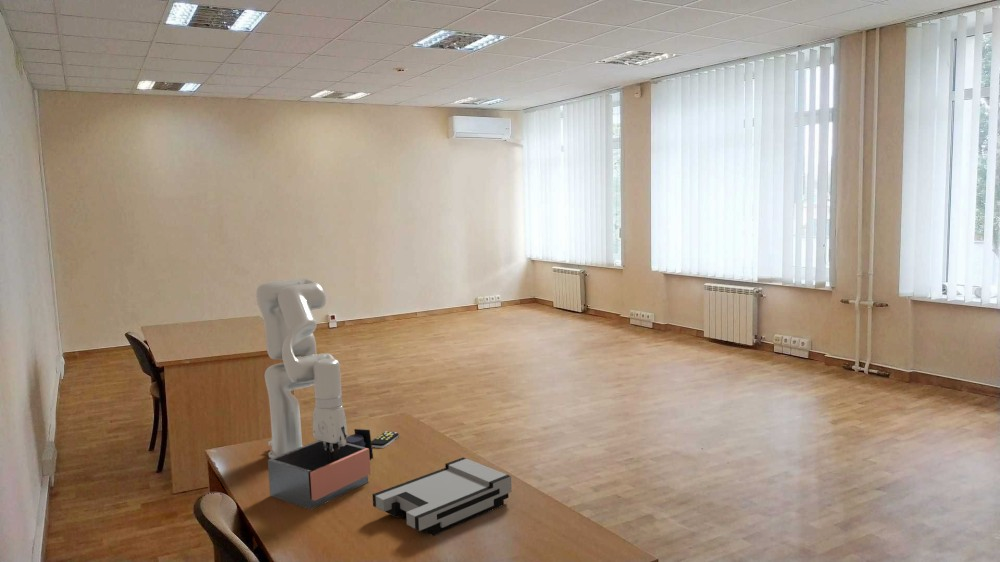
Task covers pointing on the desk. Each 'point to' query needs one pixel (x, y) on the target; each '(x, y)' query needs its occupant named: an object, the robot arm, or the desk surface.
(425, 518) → the game console
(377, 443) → the remote control
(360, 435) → the speaker
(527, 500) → the desk surface
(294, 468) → the box
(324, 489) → the tailgate
